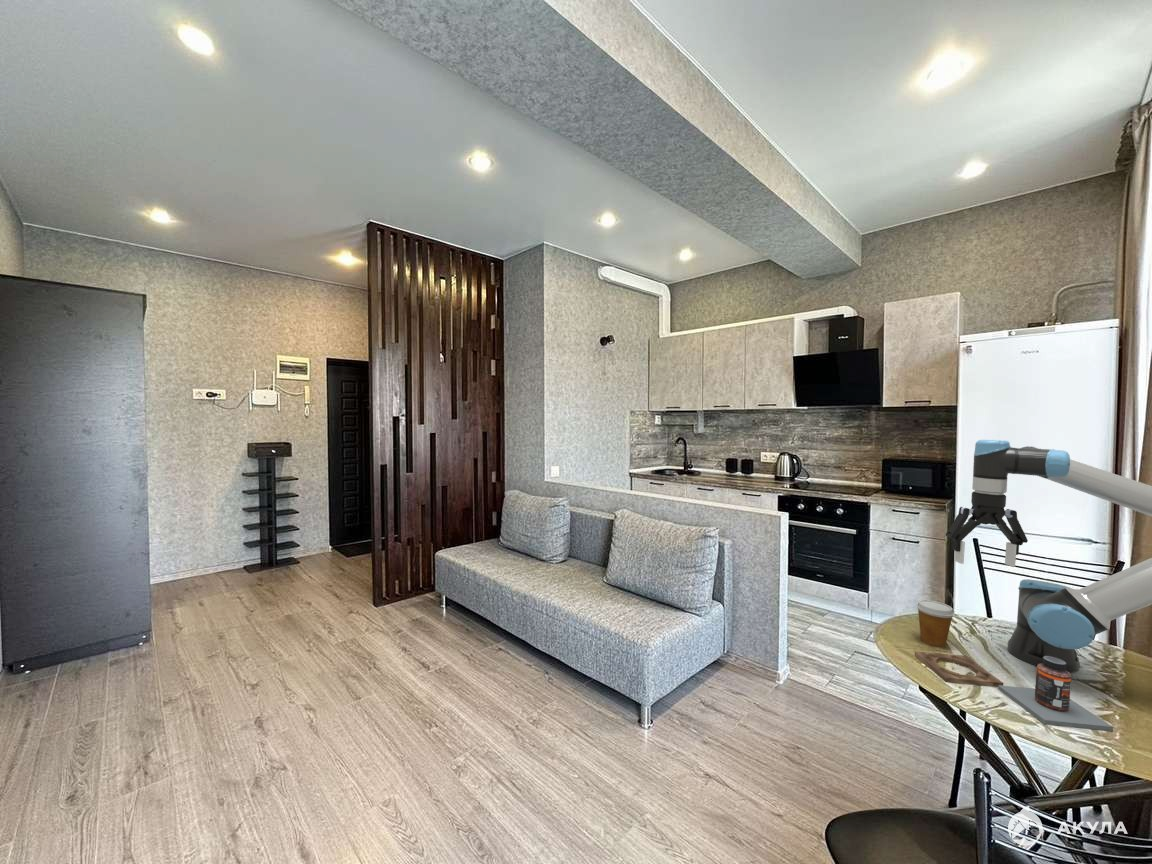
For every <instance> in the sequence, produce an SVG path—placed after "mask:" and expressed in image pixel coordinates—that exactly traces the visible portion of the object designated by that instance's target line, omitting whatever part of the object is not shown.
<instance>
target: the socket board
mask: <svg viewBox="0 0 1152 864" xmlns="http://www.w3.org/2000/svg"><path fill="white" fill-rule="evenodd" d="M914 656H915V657H916V658H917V659H919V661H921V662H922V663H923V664H924V665H925V666H927V668H929V669H930V670H931V671H932V672H933V673H934V674H936V675H937V676H938V677H939V678H940V679H942V680H943V682H945V683H952V684H963V685H973V686H974V685H976V686H984V687H985V686H986V687H994V688H998V685H1002V686H1004V682H1003V681H1002V680H1000V679H999V678H997V677H996V676H995V675H994V674H992V673H991V672H989V671H988V670H986V669H985V668H984V667H982V666H981V665H980V664H978V663H977V662H975V661H974V660H973V659H972V658H971V657H968V656H967V655H962V654H951V653H940V652H939V653H938V652H928V651H927V652H926V651H914ZM942 661H943V663H953V662H954V664H955V663H956V665H958V664H959V666H960V667H964V668H968V669H969V670H971V671H972V672H973V673H975V675H970V674H960V673H957V672H955V671H952V670H950V669H947V668H944V667H943V666H942V665H940V664H939V662H942ZM945 661H946V662H945Z"/></svg>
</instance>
